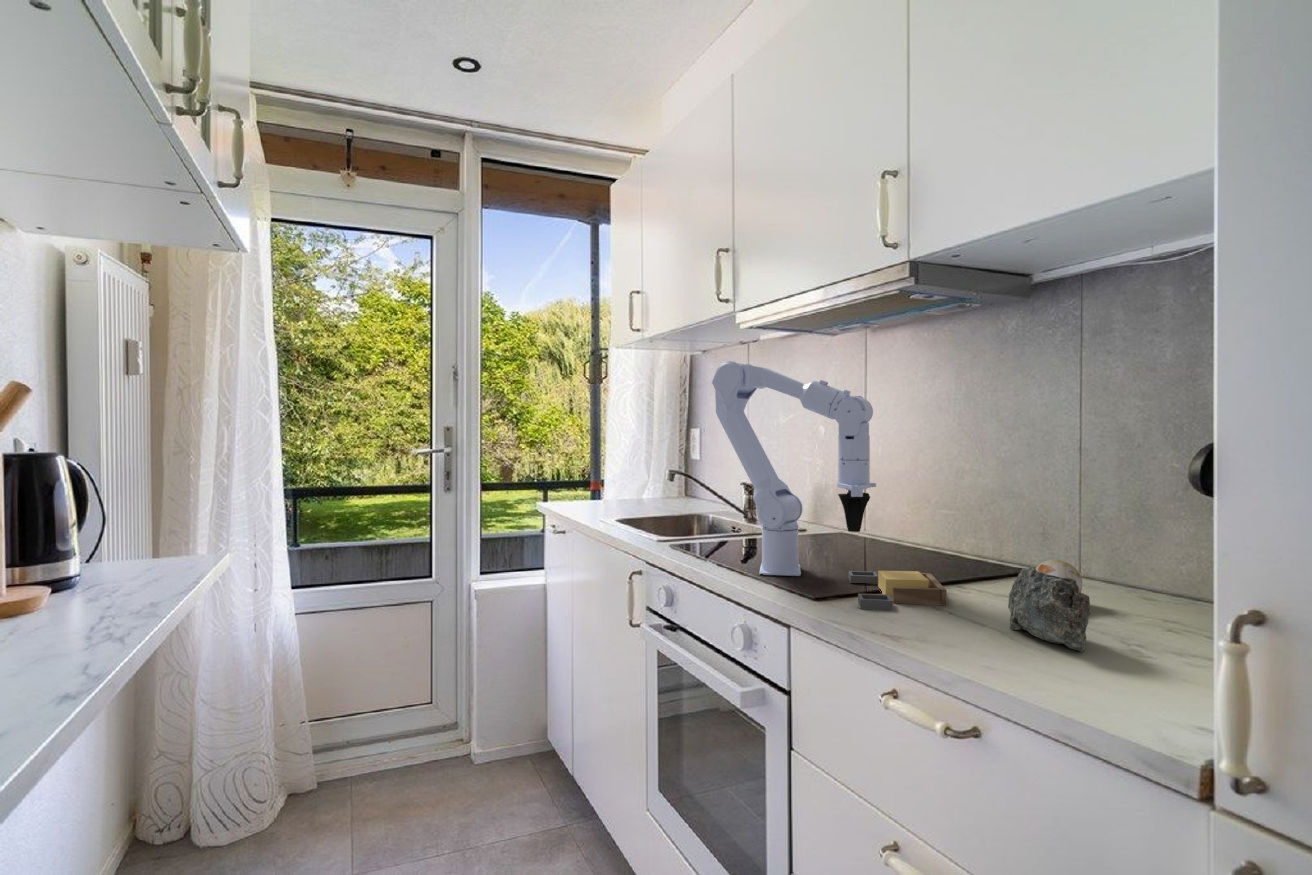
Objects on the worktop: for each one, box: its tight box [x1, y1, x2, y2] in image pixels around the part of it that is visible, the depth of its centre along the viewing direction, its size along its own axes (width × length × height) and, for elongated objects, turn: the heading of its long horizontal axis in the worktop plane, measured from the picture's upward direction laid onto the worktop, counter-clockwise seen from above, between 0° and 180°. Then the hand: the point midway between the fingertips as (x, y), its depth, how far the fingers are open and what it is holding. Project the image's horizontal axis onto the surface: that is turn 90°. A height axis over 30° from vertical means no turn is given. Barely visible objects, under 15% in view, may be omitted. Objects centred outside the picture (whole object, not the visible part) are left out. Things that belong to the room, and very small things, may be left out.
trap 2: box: [857, 593, 894, 611], centre depth 112 cm, size 4×5×2 cm
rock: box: [1007, 567, 1091, 653], centre depth 95 cm, size 14×10×10 cm
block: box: [877, 570, 929, 599], centre depth 121 cm, size 7×7×4 cm
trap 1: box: [848, 570, 878, 584], centre depth 130 cm, size 4×5×2 cm
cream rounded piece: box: [1035, 559, 1092, 613], centre depth 112 cm, size 8×10×10 cm
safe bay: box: [892, 572, 948, 606], centre depth 120 cm, size 13×8×2 cm, turn 169°
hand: (853, 531), depth 131 cm, fingers closed
